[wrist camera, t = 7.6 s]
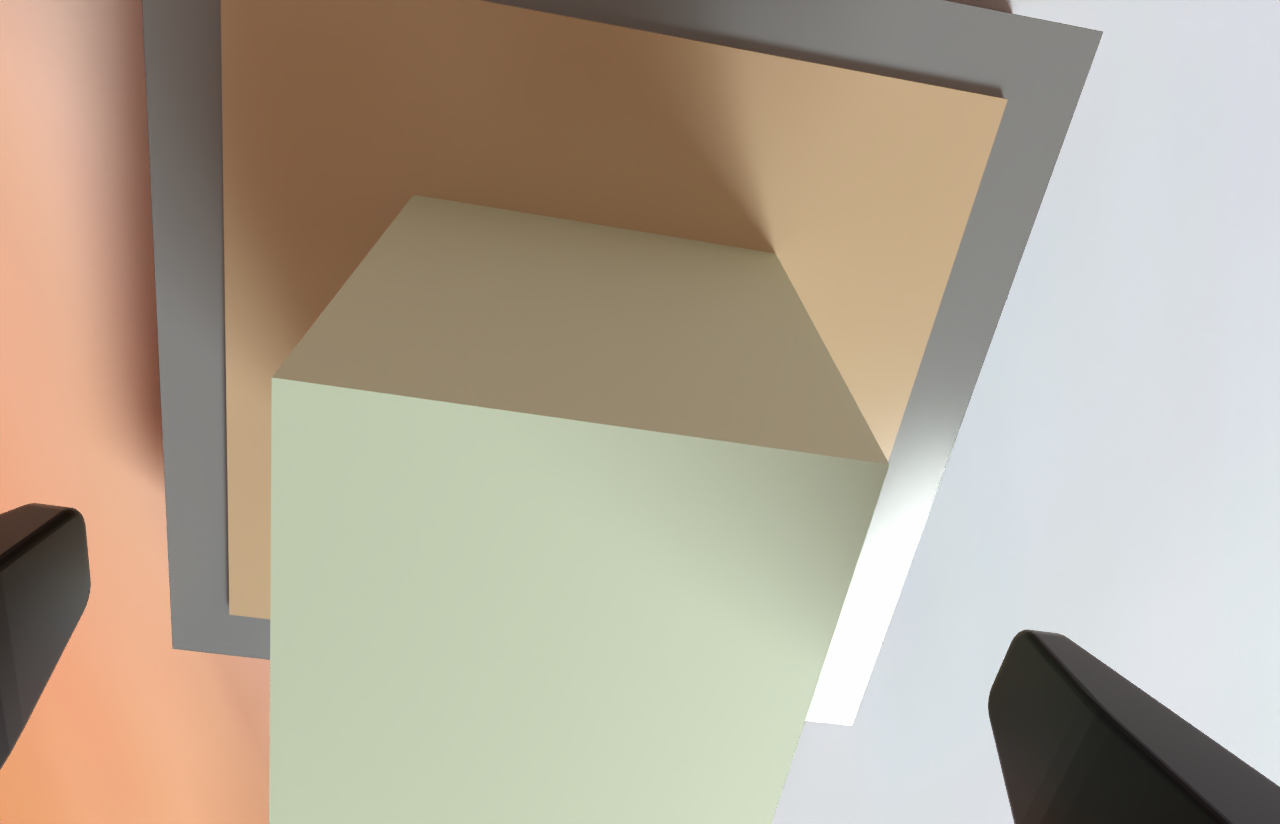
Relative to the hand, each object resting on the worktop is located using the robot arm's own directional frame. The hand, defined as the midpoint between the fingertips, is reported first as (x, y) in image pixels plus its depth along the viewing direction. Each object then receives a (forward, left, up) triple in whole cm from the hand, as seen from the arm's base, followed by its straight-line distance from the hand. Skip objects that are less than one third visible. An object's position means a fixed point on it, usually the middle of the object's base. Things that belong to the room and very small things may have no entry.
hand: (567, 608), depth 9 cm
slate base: (0, 0, -9) cm, 9 cm away
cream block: (0, 0, -5) cm, 5 cm away
